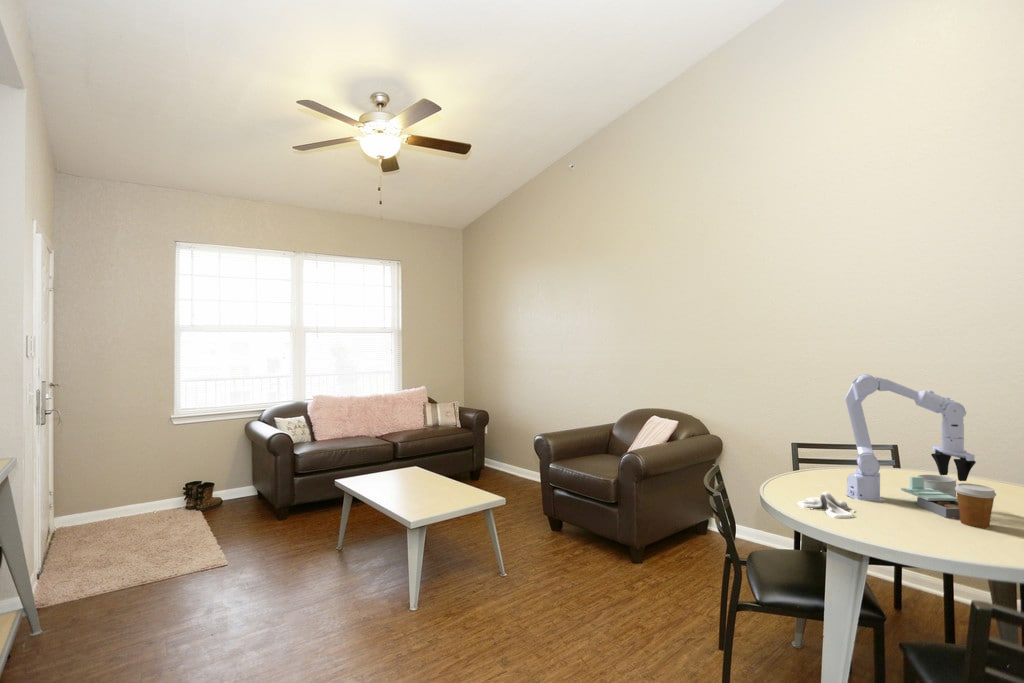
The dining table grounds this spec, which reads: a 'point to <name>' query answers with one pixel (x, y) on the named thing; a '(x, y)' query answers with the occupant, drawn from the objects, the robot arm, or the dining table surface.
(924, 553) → the dining table surface
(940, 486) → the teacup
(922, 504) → the tub
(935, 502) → the walnut block
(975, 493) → the disposable coffee cup
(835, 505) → the cloth
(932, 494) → the lid
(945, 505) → the walnut block
